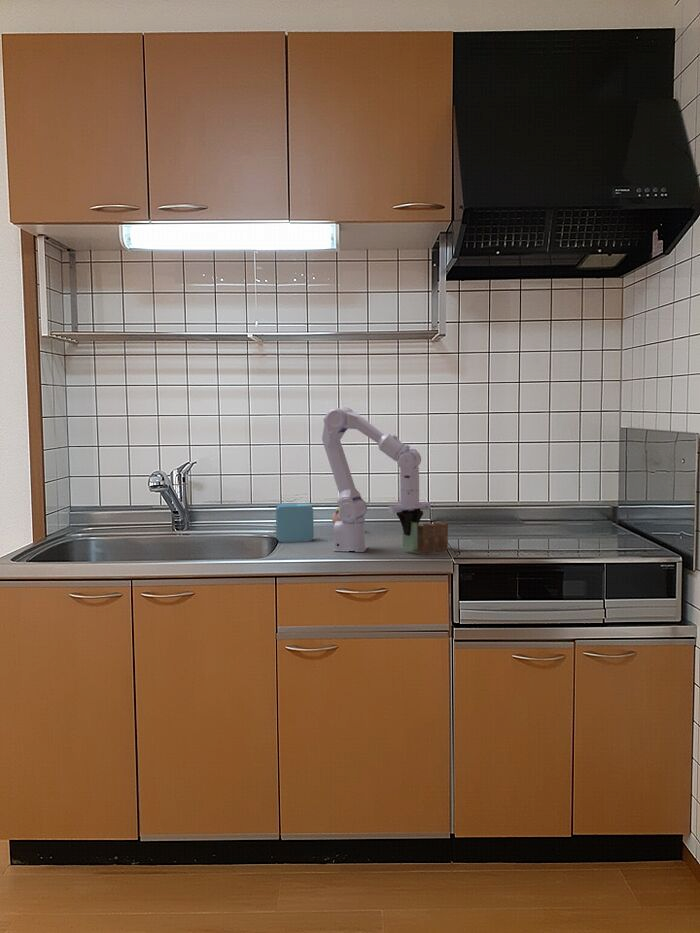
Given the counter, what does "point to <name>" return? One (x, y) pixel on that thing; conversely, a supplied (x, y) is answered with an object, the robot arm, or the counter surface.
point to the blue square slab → (294, 522)
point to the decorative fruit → (336, 516)
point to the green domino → (411, 538)
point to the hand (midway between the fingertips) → (410, 534)
